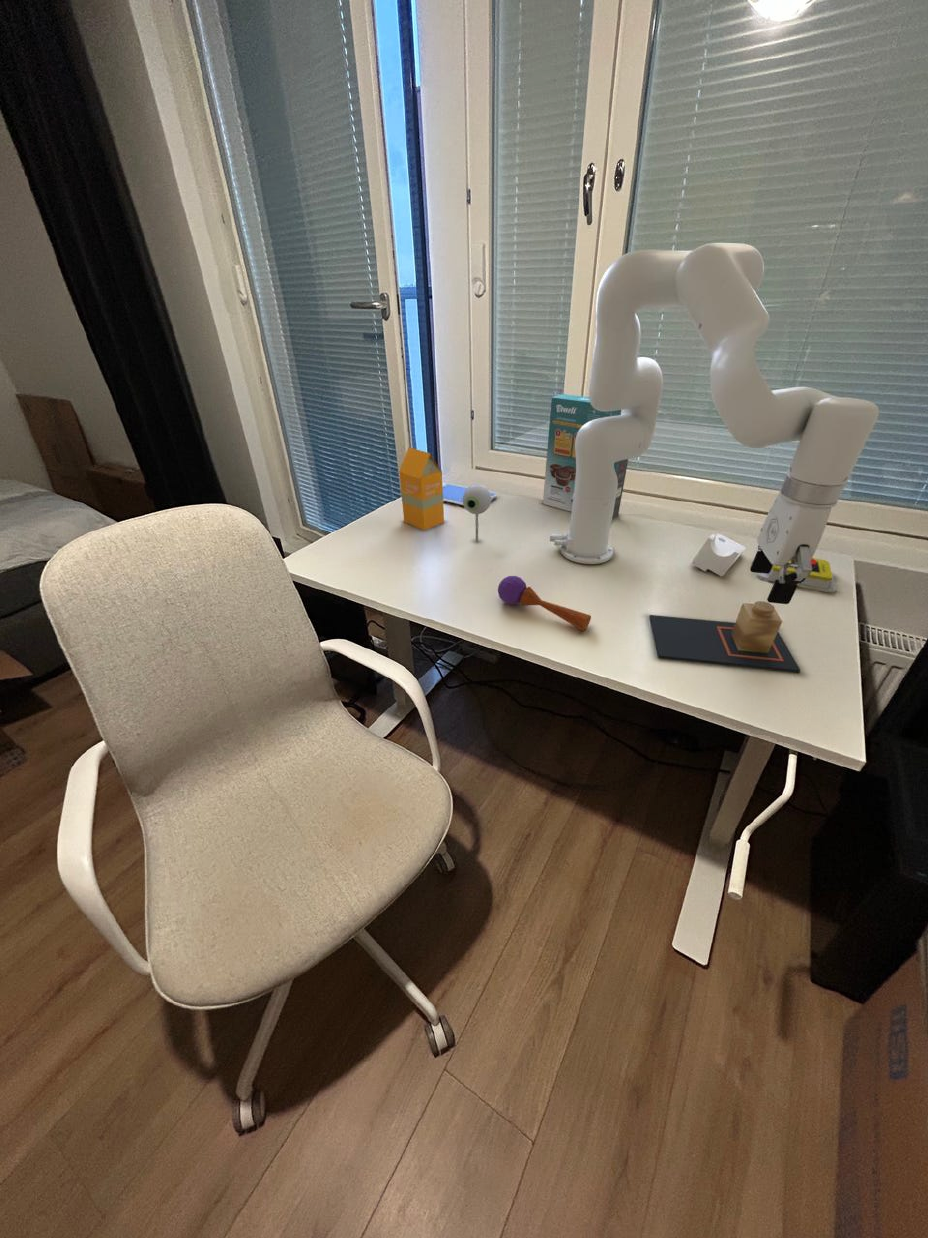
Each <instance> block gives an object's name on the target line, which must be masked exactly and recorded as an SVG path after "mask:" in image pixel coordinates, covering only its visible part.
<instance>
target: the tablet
mask: <svg viewBox="0 0 928 1238" xmlns="http://www.w3.org/2000/svg"><path fill="white" fill-rule="evenodd" d="M467 488H468V487H464V486H460V485H456V484H455V485H454V484H449V483H447V484H444V485H443V502H447V503H451V504H455V505H460V506H464V505H463V494H464V492H465V490H466V489H467ZM490 495H491V501H493V500H494V499H496V497H498V494H497V493H495V492H490Z"/></svg>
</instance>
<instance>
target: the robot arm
mask: <svg viewBox="0 0 928 1238" xmlns="http://www.w3.org/2000/svg"><path fill="white" fill-rule="evenodd" d="M764 274H765V262H764V259H763V256H762V254H761V253H760V251H759V250H758V249H757V248H756V247H754V246H753V245H752V244H751V245H750V244H747V243H736V242H735V243H734V242H732V243H731V242H710V243H706V244H702V245H700V246H698V247H696V248H694V249H693V250H677V249H676V250H674V249H673V250H672V249H670V250H669V249H641V250H635V251H630V252H627V253H624V254H623V255H621V256H619V257H618V258H617V259H615V260H614V261H613V262H612V263H611V264H610V265H609V266H608V268H607V269H606V270H605V272H604V274H603V276H602V278H601V280H600V282H599V284H598V289H597V293H596V294H597V295H596V301H595V302H596V303H595V340H594V346H593V352H592V353H593V354H592V361H591V362H592V363H591V370H590V376H589V377H590V378H589V387H588V397H589V400H590V404H591V405H592V407H593V408H594V409H596V410H598V411H603V412H609V411H617V410H621V415H618V416H610V417H604V418H598V419H594V420H592V421H589V422H588V423H586V424H585V425H583V426H582V427H581V428H580V430H579V431H578V433H577V436H576V440H575V453H576V479H575V488H574V497H573V505H572V512H570V514H571V515H570V523H569V529H567V533H564V532H563V533H562V534H558V533H550V534H549V542H553V545H554V546H560V553H561V555H562V556H563V557H564V558H566V559H567V560H569V561H572V562H575V563H578V564H583V565H599V564H603V563H606V562H608V561H609V560H611V559H612V557H613V554H614V549H613V547H612V546H611V545H610V544H609V540H610V535H611V534H610V533H611V528H612V522H613V519H612V517H613V511H614V505H615V499H616V493H617V487H618V479H617V475H616V472H615V469H614V463H615V462H618V461H621V460H626V459H628V460H630V459H634V458H637V457H639V456H641V455H643V454H644V453H645V452H646V451H647V450H648V449H649V447H650V445H651V443H652V440H653V437H654V434H655V429H656V424H657V419H658V414H659V411H660V405H661V400H662V395H663V389H664V375H663V371H662V369H661V367H660V365H659V363H658V362H657V361H656V360H655V359H653V358H651V357H647V356H639V350H640V345H641V340H642V329H641V323H640V320H639V317H638V315H637V313H636V312H638V311H639V310H648V309H649V310H650V309H653V310H657V309H679V308H684V310H685V312H686V313H687V315H688V318H689V319H690V321H691V322H692V325H693V326H694V328H695V329H696V331H697V333H698V335H699V337H700V338H701V340H702V342H703V344H704V345H705V347H706V349H707V351H708V353H709V355H710V357H711V362H710V369H709V387H710V389H709V390H710V397H711V399H712V402H713V405H714V407H715V409H716V411H717V413H718V414H719V417H720V418H721V420H722V422H723V424H724V425H725V427H726V429H727V430H728V432H729V433H730V435H731V436H732V437H733V438H734V439H735V441H737V443H740V444H741V445H743V446H745V447H748V448H753V449H760V448H765V447H769V446H773V445H778V444H781V443H783V444H784V443H791V442H798V444H797V447H796V449H795V452H794V454H793V457H792V459H791V461H790V465H789V467H788V469H787V472H786V475H785V477H784V479H783V481H782V484H781V486H780V489H779V491H778V494H777V495H776V497H775V499H774V501H773V503H772V505H771V507H770V509H769V511H768V513H767V515H766V518H765V519H764V522H763V523H762V526H761V528H760V530H759V533H758V534H757V539H756V540H757V544H758V545H757V551H756V553H755V555H754V558H753V561H752V563H751V565H750V568H749V571H750V573H756V574H757V573H766V574H768V573H770V572H771V569H772V567H773V565H774V566H780V573H779V580H775V582H773V585H772V586H771V589H770V591H769V593H768V596H767V598H766V600H767V603H770V604H779V605H781V604H782V605H789V604H790V603H791V602H792V598H793V597H794V594H795V593H796V591H797V588H798V587H799V586H798V585H800V584H801V582H803V581H804V580H805V578H806V577H807V576H808V575H809V574H810V573H811V572H812V565H811V559H812V558H814V555H815V553H816V551H817V549H818V546H819V544H820V542H821V540H822V537H823V535H824V532H825V529H826V526H827V524H828V521H829V518H830V515H831V512H832V508H834V507H836V505H837V504H838V501H839V500H840V497H841V495H842V494H843V491H844V489H845V487H846V486H847V483H848V480H849V479H850V476H851V474H852V472H853V471H854V469H855V467H856V464H857V462H858V460H859V458H860V456H861V454H862V452H863V450H864V448H865V446H866V443H867V441H868V440H869V437H870V435H871V433H872V431H873V429H874V427H875V425H876V423H877V420H878V418H879V414H880V409H879V407H878V405H877V404H876V403H874V402H872V401H870V400H867V399H862V398H856V397H846V396H836V395H833V394H831V393H828V392H825V391H822V390H820V389H817V388H814V387H810V386H793V387H788V388H787V387H786V388H779V389H774V390H772V389H771V388H770V387H769V385H768V383H767V382H766V379H765V378H764V376H763V375H762V372H761V370H760V369H759V366H758V363H757V361H756V356H755V344H756V343H757V342H758V341H759V340H760V339H761V338H762V336H764V334H765V332H766V331H767V330H768V327H769V324H770V321H771V320H770V314H769V313H768V311H767V309H766V307H765V306H764V304H763V303H762V301H761V299H760V298H759V296H758V294H757V291H758V290H759V288H760V286H761V284H762V282H763V278H764ZM789 560H790V561H795V563H787V562H788V561H789ZM787 568H792V569H795V573H790V574H788V575H787Z"/></svg>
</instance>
